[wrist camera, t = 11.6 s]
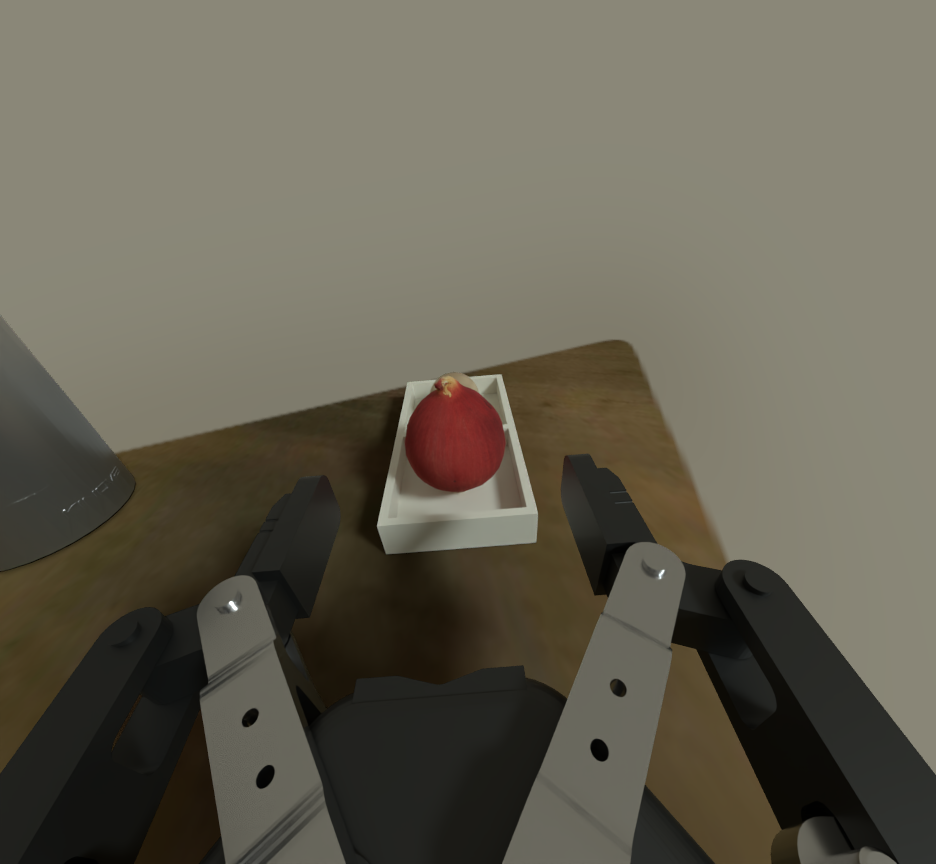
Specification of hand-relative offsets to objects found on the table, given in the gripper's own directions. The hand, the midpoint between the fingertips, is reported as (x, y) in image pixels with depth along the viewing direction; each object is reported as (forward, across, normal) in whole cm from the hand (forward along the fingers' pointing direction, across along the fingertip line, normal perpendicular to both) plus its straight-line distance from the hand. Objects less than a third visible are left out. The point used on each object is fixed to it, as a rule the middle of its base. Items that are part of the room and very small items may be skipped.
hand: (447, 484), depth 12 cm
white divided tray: (+12, 0, +8) cm, 15 cm away
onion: (+8, 0, +8) cm, 11 cm away
